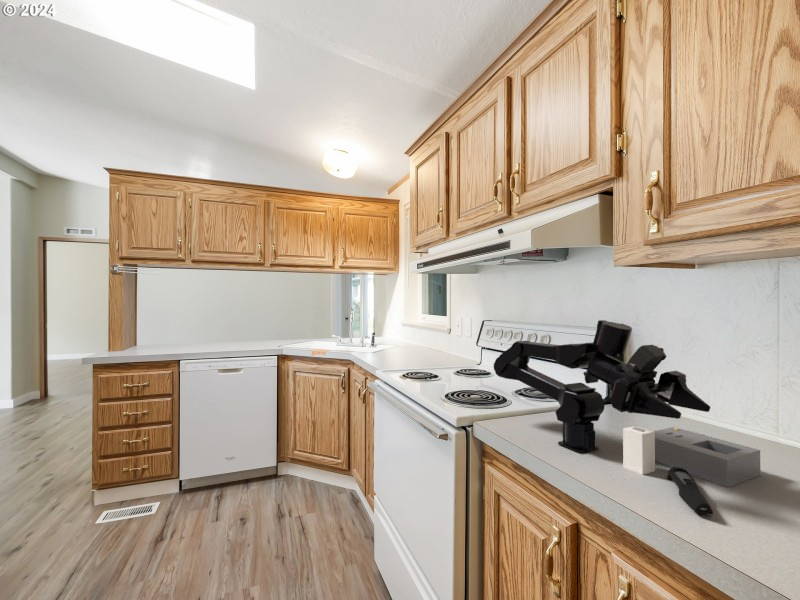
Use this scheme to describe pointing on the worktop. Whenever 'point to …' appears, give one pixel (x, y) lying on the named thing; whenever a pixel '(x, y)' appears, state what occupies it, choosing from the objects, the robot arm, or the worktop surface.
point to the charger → (639, 450)
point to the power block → (707, 456)
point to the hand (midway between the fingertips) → (695, 412)
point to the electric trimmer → (689, 490)
